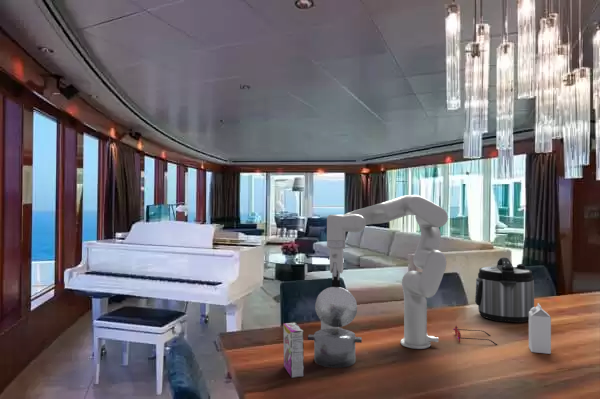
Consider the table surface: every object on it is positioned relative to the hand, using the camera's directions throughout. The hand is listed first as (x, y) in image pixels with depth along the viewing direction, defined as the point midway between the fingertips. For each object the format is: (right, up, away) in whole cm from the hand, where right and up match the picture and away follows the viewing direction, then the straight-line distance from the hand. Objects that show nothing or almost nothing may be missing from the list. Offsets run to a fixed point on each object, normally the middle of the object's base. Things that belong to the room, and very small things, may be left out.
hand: (335, 289), depth 180 cm
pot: (-1, -26, -8) cm, 27 cm away
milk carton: (+85, -26, +3) cm, 89 cm away
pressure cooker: (+94, -26, +55) cm, 112 cm away
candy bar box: (-17, -26, -19) cm, 37 cm away
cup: (-1, -26, +16) cm, 31 cm away
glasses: (+64, -27, +18) cm, 71 cm away
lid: (0, -7, -1) cm, 7 cm away
